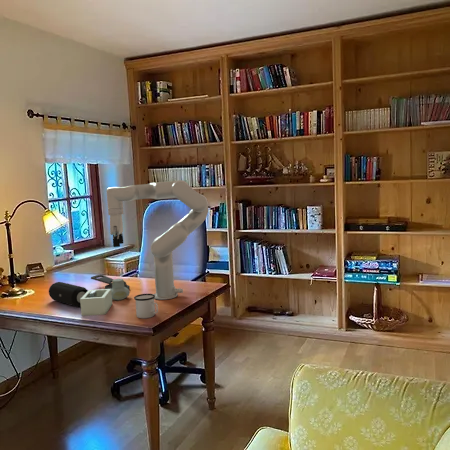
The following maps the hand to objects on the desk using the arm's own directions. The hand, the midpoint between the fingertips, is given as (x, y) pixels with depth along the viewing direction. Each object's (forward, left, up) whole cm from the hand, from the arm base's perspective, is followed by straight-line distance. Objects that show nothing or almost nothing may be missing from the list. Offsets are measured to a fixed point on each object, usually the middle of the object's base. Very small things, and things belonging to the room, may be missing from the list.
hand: (118, 245), depth 241 cm
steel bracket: (+9, +17, -27) cm, 33 cm away
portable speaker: (+26, +2, -29) cm, 39 cm away
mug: (-17, +31, -29) cm, 45 cm away
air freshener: (+2, -1, -29) cm, 29 cm away
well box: (+9, +17, -28) cm, 34 cm away
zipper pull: (+11, -23, -29) cm, 38 cm away
